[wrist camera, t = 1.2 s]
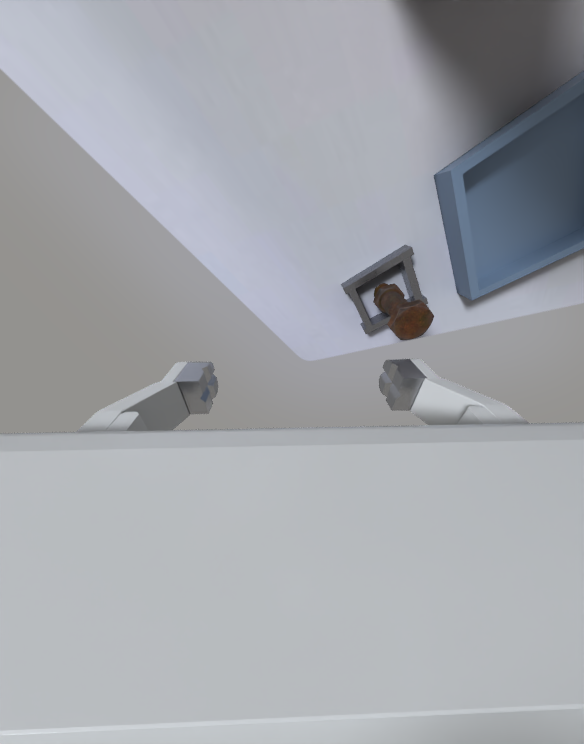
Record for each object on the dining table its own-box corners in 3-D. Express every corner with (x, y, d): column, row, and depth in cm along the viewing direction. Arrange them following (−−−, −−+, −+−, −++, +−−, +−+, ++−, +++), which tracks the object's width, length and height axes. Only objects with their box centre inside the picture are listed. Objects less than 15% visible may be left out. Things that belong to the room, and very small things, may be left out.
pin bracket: (404, 244, 36) (411, 247, 34) (420, 298, 42) (427, 303, 39) (341, 284, 41) (343, 288, 38) (362, 328, 46) (365, 334, 44)
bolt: (396, 273, 39) (436, 299, 27) (397, 299, 42) (434, 333, 30) (364, 283, 40) (389, 312, 28) (367, 307, 43) (391, 343, 31)
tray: (626, 40, 24) (683, 10, 20) (599, 223, 33) (634, 224, 30) (433, 175, 31) (450, 170, 27) (457, 292, 41) (472, 300, 37)
